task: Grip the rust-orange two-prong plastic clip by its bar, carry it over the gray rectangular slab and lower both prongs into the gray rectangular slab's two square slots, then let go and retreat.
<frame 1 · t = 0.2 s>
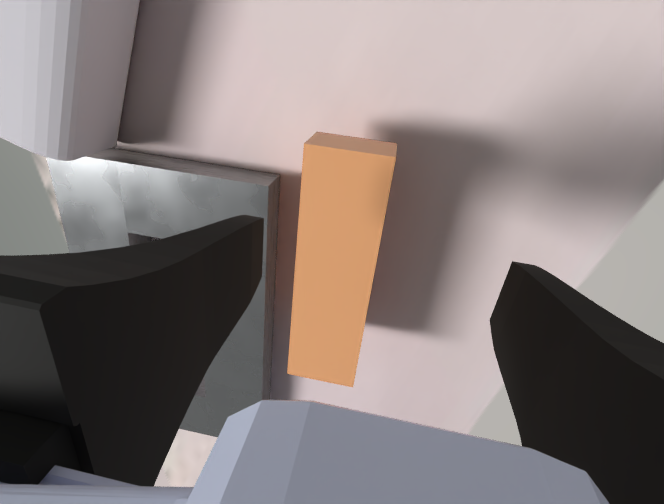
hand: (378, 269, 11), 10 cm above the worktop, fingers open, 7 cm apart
clip: (346, 237, 22), on the worktop
gray rectangular slab: (186, 305, 26), on the worktop
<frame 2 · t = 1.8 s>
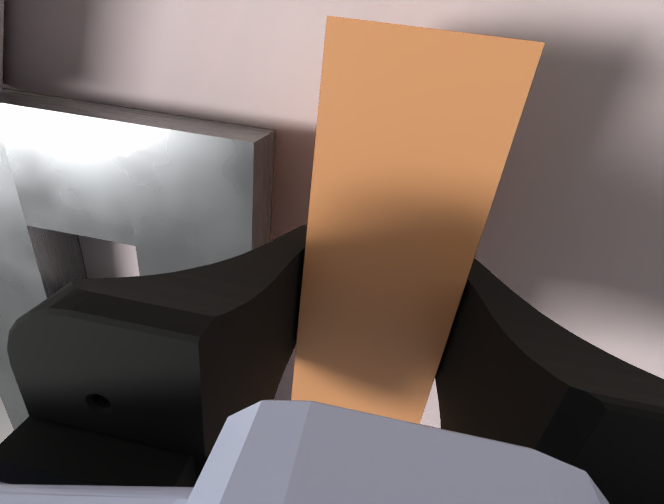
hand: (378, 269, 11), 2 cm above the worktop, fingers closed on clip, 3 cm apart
clip: (382, 235, 13), on the worktop, touching gripper
gray rectangular slab: (137, 335, 18), on the worktop
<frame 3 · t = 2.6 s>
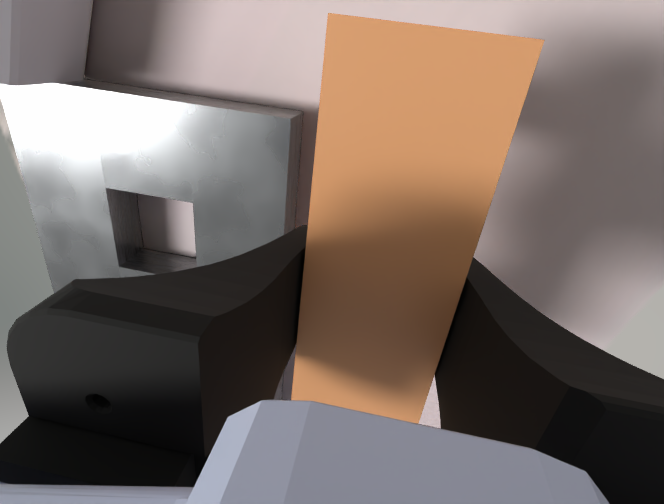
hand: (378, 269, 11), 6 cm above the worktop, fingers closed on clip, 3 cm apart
clip: (382, 233, 13), point 4 cm above the worktop, touching gripper
gray rectangular slab: (181, 287, 21), on the worktop
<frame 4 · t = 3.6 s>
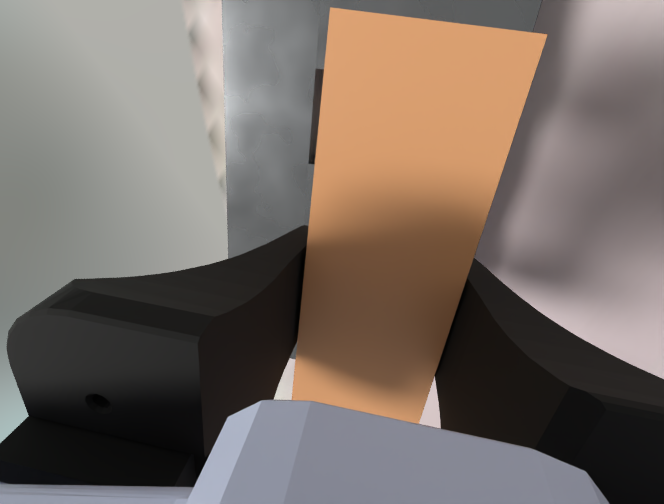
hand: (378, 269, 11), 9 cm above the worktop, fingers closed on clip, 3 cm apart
clip: (383, 231, 13), point 7 cm above the worktop, touching gripper
gray rectangular slab: (350, 197, 20), on the worktop
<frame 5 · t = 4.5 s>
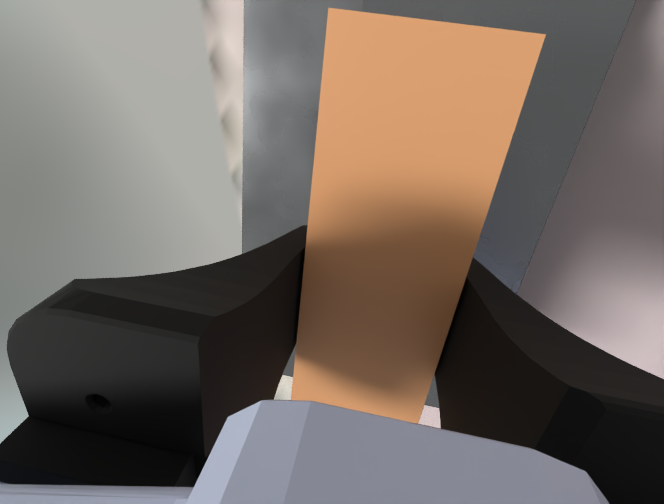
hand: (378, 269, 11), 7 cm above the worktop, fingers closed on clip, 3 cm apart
clip: (382, 231, 13), point 4 cm above the worktop, touching gripper
gray rectangular slab: (387, 196, 17), on the worktop
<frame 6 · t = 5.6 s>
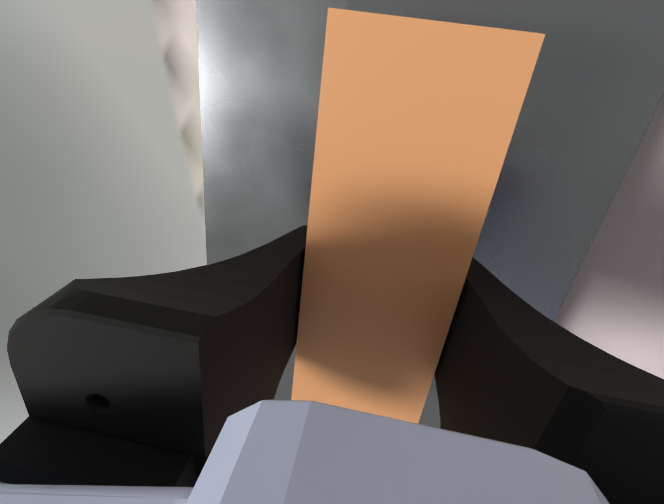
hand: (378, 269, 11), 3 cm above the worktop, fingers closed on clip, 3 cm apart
clip: (382, 231, 13), point 1 cm above the worktop, touching gripper
gray rectangular slab: (383, 224, 14), on the worktop
when the fingers open (3 cm above the worktop, at t = 5.6 s): clip stays where it is, on the worktop.
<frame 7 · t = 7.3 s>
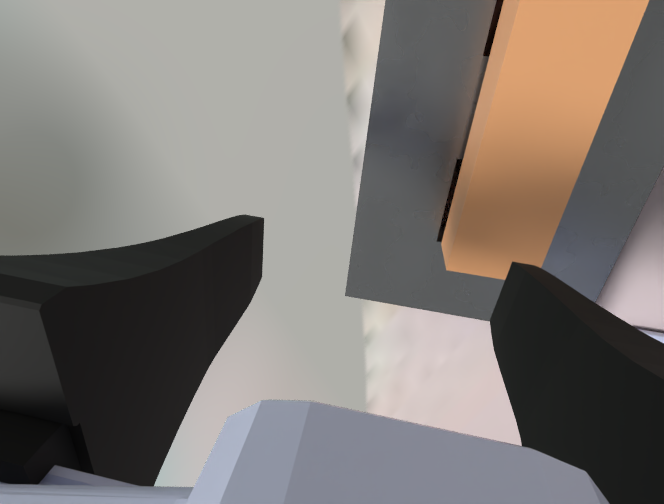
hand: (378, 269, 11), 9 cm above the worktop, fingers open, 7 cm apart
clip: (506, 107, 17), on the worktop
gray rectangular slab: (507, 110, 17), on the worktop
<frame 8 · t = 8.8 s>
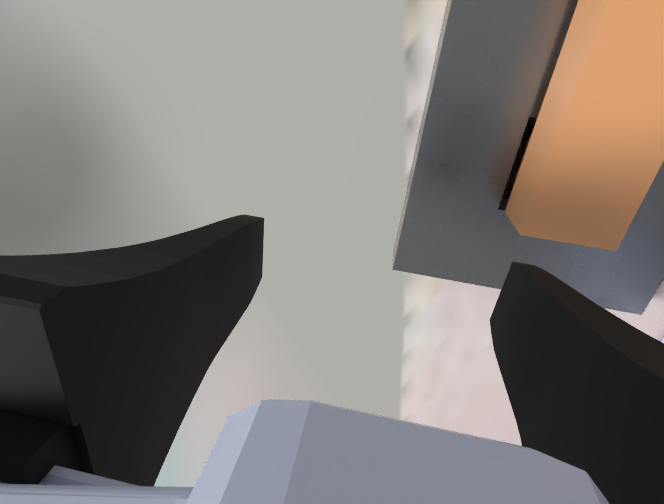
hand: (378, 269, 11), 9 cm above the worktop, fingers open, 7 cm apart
clip: (580, 64, 16), on the worktop
gray rectangular slab: (581, 67, 16), on the worktop
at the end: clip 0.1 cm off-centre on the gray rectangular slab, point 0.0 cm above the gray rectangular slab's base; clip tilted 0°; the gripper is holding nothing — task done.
